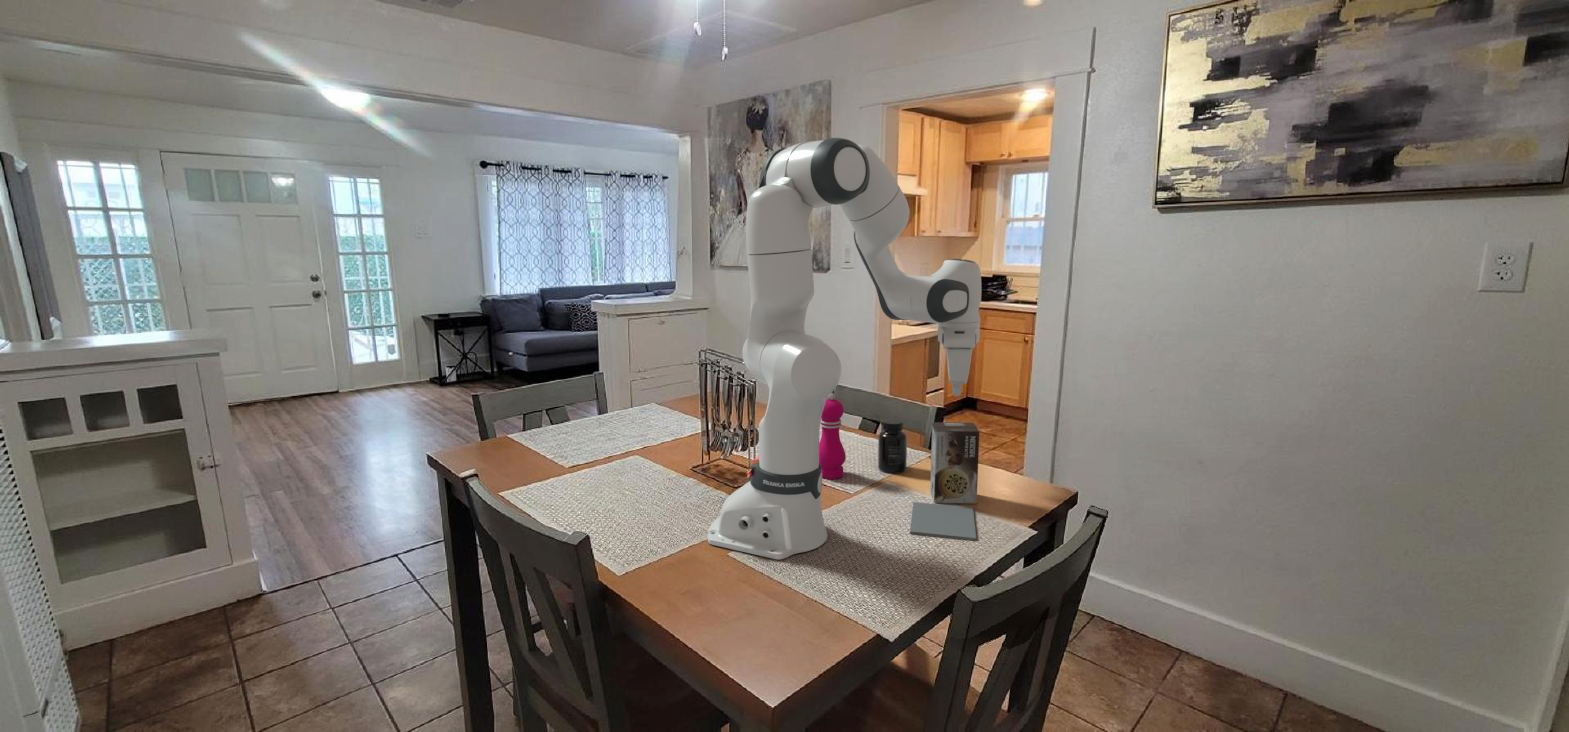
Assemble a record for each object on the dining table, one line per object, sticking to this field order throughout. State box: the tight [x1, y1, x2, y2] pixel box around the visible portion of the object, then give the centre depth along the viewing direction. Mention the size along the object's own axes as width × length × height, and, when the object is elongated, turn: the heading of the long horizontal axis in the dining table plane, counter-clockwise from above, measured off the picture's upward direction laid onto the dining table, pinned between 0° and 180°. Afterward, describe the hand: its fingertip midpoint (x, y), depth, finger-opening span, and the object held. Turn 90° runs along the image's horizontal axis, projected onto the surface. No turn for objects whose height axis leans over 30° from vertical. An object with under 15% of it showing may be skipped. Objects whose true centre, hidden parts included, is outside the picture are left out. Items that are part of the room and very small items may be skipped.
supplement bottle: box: [877, 418, 908, 474], centre depth 151 cm, size 7×7×12 cm
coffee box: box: [929, 421, 980, 505], centre depth 133 cm, size 9×6×16 cm
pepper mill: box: [819, 392, 847, 480], centre depth 147 cm, size 7×7×20 cm
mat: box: [909, 501, 977, 541], centre depth 123 cm, size 12×14×1 cm
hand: (956, 394), depth 140 cm, fingers closed
